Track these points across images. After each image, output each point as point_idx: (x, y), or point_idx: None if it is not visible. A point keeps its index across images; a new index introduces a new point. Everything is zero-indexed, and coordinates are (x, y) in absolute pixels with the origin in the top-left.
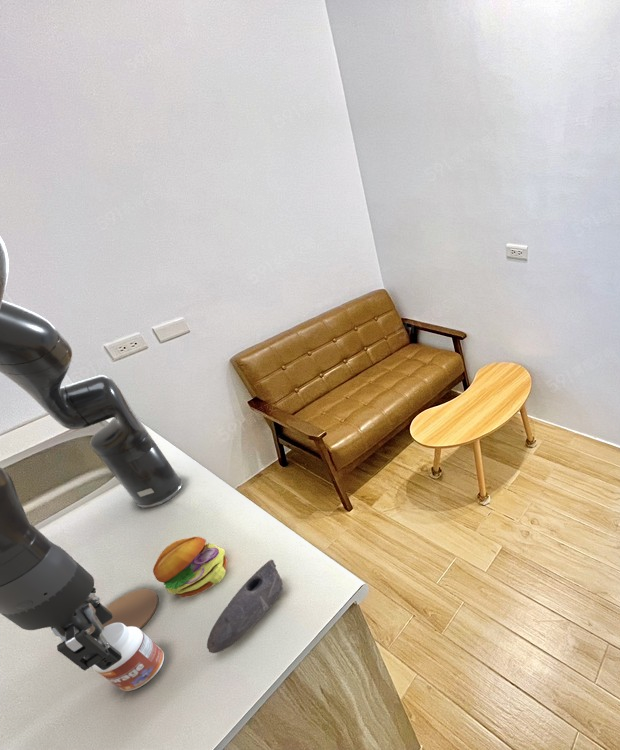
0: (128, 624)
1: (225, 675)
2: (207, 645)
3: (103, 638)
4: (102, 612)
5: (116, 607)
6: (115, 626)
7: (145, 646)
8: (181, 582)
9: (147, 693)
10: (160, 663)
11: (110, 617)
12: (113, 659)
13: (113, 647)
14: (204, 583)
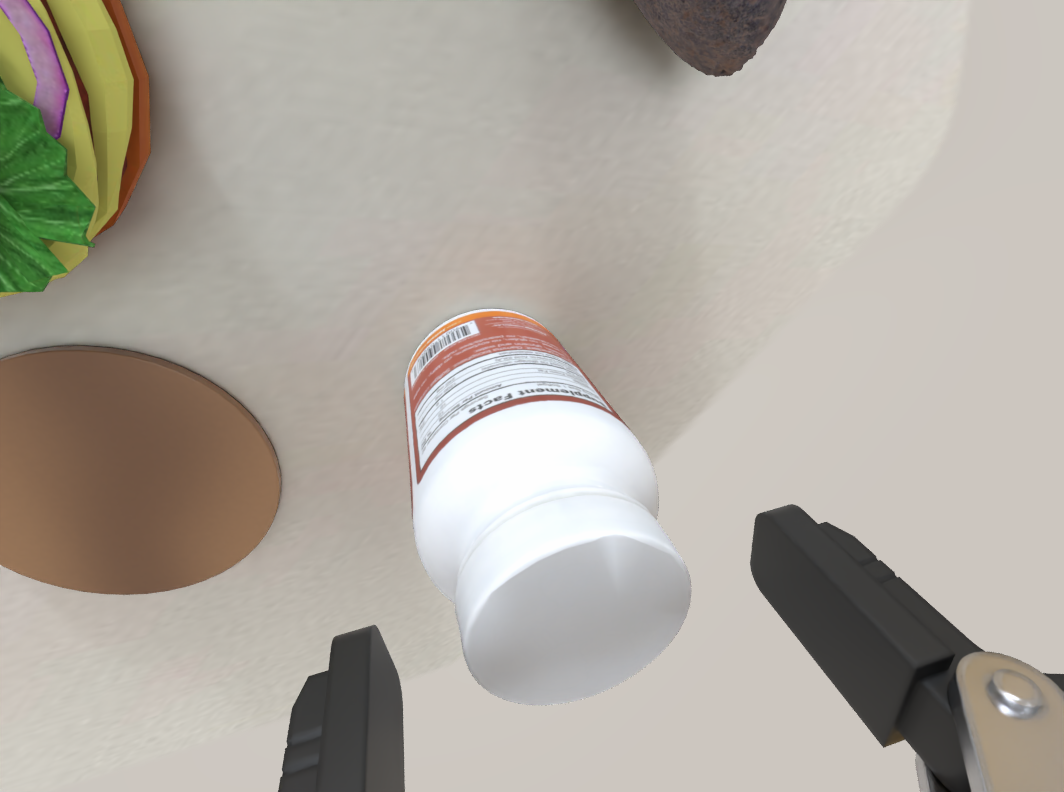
0: (189, 463)
1: (780, 58)
2: (751, 57)
3: (1027, 764)
4: (377, 755)
5: (26, 528)
6: (524, 597)
7: (568, 381)
8: (29, 162)
9: (600, 360)
10: (531, 320)
11: (375, 642)
12: (872, 559)
13: (852, 593)
14: (97, 2)
